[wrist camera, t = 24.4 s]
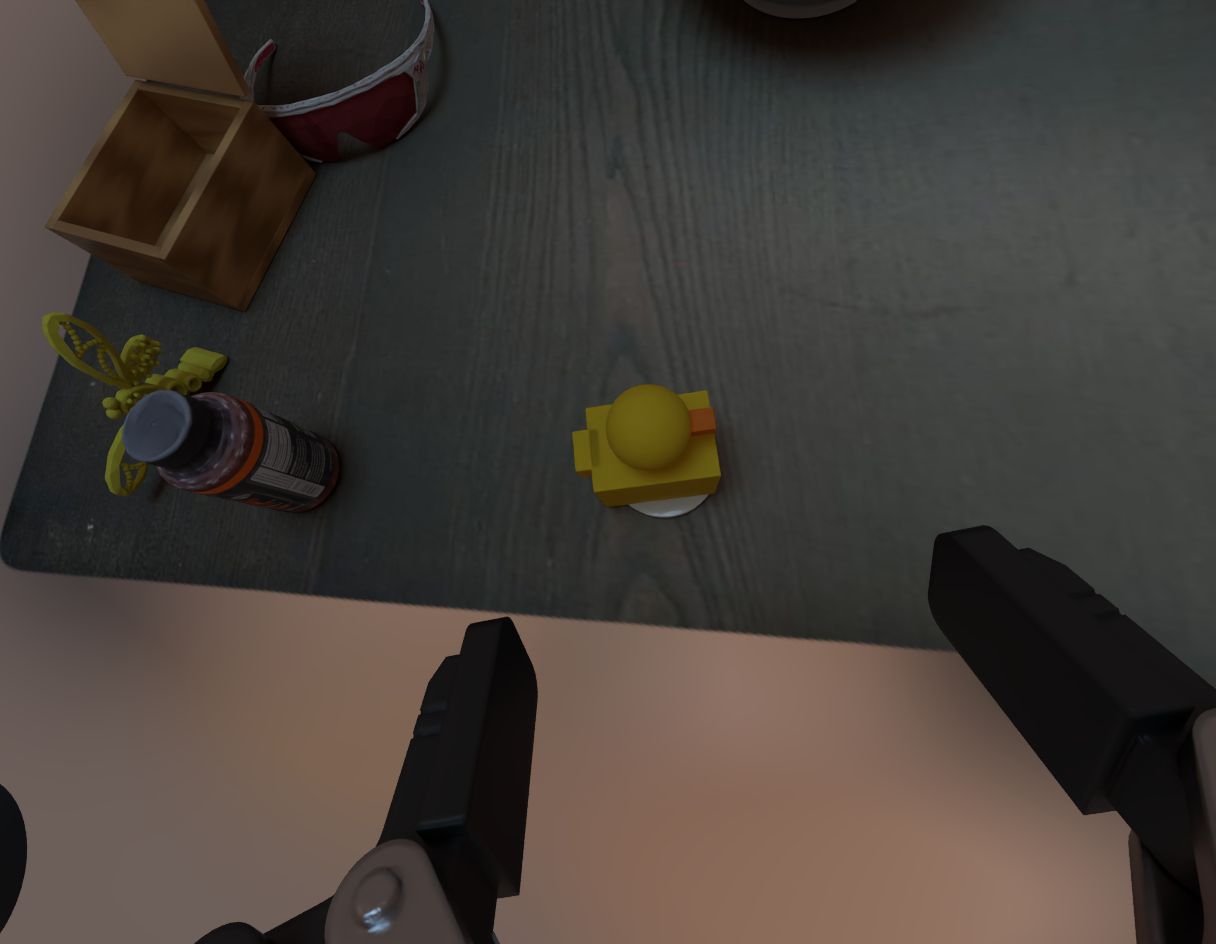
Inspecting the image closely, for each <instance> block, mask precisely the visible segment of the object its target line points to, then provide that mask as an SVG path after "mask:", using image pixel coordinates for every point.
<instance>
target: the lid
mask: <svg viewBox="0 0 1216 944" xmlns="http://www.w3.org/2000/svg"><path fill="white" fill-rule="evenodd" d="M75 1H76V2H77V4H78V5H79V7H80V8H81V10H82V11H83V13H84V14H85V16H86V17H87V19H88V20H89V21H90V23H91V25H92V26H93V27H94V29H95V30H96V32H97V33H98V35H99V36H100V38H101V39H102V41H103V42H104V44H105V45H106V46H107V48H108V50H109V51H110V52H111V54H112V55H113V57H114V58H115V60H116V61H117V63H118V64H119V66H120V67H121V69H122V70H123V72H124V73H125V75H126V76H132V77H137V78H142V79H148V80H153V81H159V82H165V83H170V84H176V85H181V86H187V87H192V88H198V89H204V90H209V91H215V92H220V93H226V94H232V95H237V96H243V97H246V96H248V95H250V94H251V93H252V92H251V90H250V88H249V87H248V85H247V83H246V81H245V79H244V77H243V75H242V73H241V71H240V69H239V67H238V65H237V63H236V61H235V60H234V58H233V56H232V54H231V52H230V50H229V48H228V46H227V44H226V42H225V40H224V38H223V36H222V35H221V33H220V31H219V29H218V27H217V25H216V23H215V21H214V19H213V17H212V15H211V13H210V11H209V9H208V8H207V6H206V4H205V2H204V0H75Z"/></svg>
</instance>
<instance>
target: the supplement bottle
mask: <svg viewBox="0 0 1216 944" xmlns="http://www.w3.org/2000/svg"><path fill="white" fill-rule="evenodd" d="M122 440H123V445H124V447H125V449H126V451H127V453H128V454H129V455H131V457H133V458H134V459H136V460H138V461H141V462H145V463H148V464H152V465H154V466H156V467H157V469H158V471H159V473H160V474H161V476H163V478H164V479H165V480H166V481H167V482H169V483H170V484H171V485H173V486H175V487H178V488H179V489H182V490H186V491H190V492H195V493H198V494H204V495H207V496H212V497H217V498H222V499H226V500H232V501H237V502H242V503H247V504H250V505H255V506H260V507H265V508H269V509H273V510H278V511H285V512H302V511H306V510H309V509H311V508H313V507H316V506H318V505H319V504H320V503H321V502H322V501H324V500H325V499H326V497H327V496H328V495H329V494H330V493H331V492H332V490H333V488H334V487H335V484H336V482H337V479H338V475H339V459H338V455H337V452H336V450H335V449H334V447H333V446H332V445H331V443H330V442H328V441H327V440H326V439H325V438H323V437H321V436H319V435H318V434H316V433H314V432H312V431H310V430H307V429H305V428H303V427H301V426H298V425H296V424H294V423H292V422H290V421H287V420H285V419H283V418H281V417H278V416H276V415H274V414H272V413H269V412H267V411H265V410H263V409H260V408H258V407H256V406H254V405H251V404H249V403H248V402H245V401H242V400H240V399H238V398H236V397H233V396H230V395H226V394H223V393H216V392H206V393H200V394H196V395H193V396H187V395H183V394H181V393H178V392H176V391H172V390H159V391H155V392H153V393H150V394H148V395H146V396H145V397H143V398H142V399H141V400H139V401H138V402H137V403H136V404H135V405H134V406H133V407H132V409H131V411H130V412H129V413H128V415H127V418H126V420H125V422H124V426H123V430H122Z"/></svg>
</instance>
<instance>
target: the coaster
mask: <svg viewBox="0 0 1216 944" xmlns="http://www.w3.org/2000/svg"><path fill="white" fill-rule="evenodd" d="M708 496H709V494H706V495H699V496H691V497H683V498H675V499H667V500H659V501H651V502H643V503H635V504H628V505H629V506H630V507H632V508H633V509H634V510H636V511H638V512H639V513H642V514H644V515H647V516H650V517H654V518H674V517H678V516H682V515H684V514H687V513H689V512H691V511H692V510H694V509H696V508H697V507H698V506H700V505H701V504H702V503H703V502H704V501H705V500H706V498H707V497H708Z"/></svg>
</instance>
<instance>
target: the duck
mask: <svg viewBox="0 0 1216 944" xmlns="http://www.w3.org/2000/svg"><path fill="white" fill-rule="evenodd" d="M586 419H587V430H582V431H575V432H573V433H572V435H573V447H574V458H575V469H576V472H577V473H578V474H579V476H580V477H582V478H583V477H590V476H592V481H593V491H594V493H595V494H596V495H597V496H598V498H599V499H600V500H601V501H602V502H603V503H604V505H605V506H606V507H612V506H620V505H627V504H635V503H643V502H651V501H659V500H667V499H675V498H683V497H691V496H699V495H706V494H714V493H715V492H716V489H717V486H718V483H719V480H720V477H721V472H720V465H719V459H718V453H717V447H716V441H715V435H714V433H716V428H717V427H716V421H715V415H714V409H713V407H710V404H709V397H708V391H707V390H706V391H699V392H692V393H685V394H679V395H677V394H675V393H674V392H673V391H671V390H669V389H667V388H665V387H663V386H659V385H654V384H644V385H639V386H635V387H632V388H630V389H628V390H626V391H625V392H623V393H622V394H621V395H620V396H619V397H618V398H617V399H616V400H615V401H614V403H613V404H611V405H605V406H598V407H591V408H586Z"/></svg>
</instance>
